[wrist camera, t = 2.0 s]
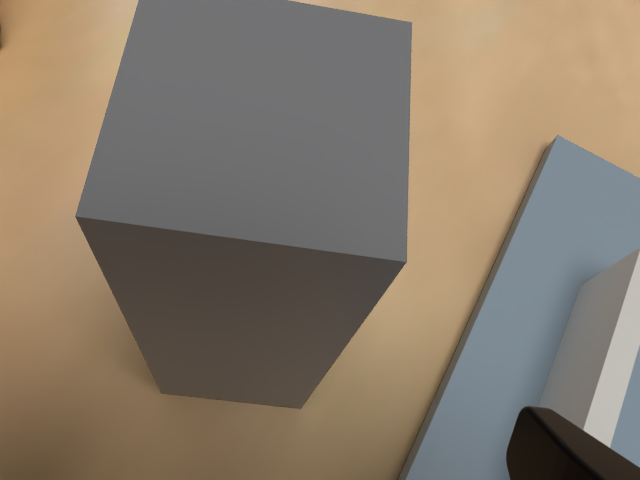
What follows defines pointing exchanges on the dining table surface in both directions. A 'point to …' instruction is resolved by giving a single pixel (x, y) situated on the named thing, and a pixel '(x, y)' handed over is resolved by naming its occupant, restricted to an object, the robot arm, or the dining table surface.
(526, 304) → the outlet plate
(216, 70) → the brick
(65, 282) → the dining table surface
